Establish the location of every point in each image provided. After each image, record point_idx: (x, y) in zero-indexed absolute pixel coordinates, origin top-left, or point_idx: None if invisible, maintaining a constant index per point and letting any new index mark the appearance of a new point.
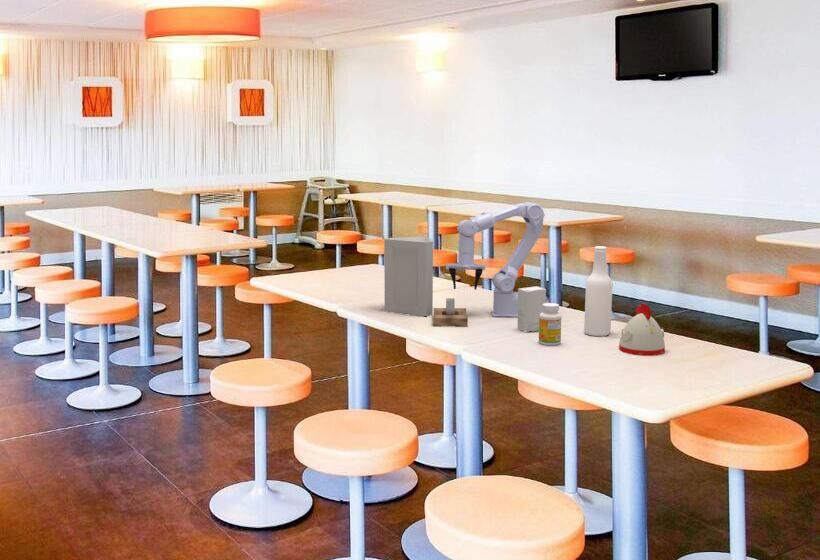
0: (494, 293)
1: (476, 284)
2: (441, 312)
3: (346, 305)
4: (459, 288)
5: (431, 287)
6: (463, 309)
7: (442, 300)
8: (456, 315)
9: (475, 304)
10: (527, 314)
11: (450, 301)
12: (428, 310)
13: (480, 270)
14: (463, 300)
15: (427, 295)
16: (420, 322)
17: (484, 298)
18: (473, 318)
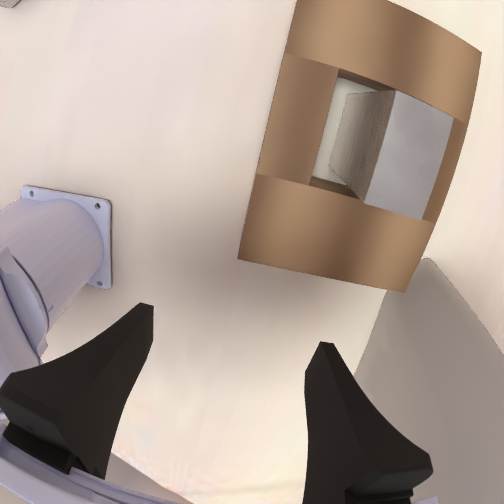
0: (44, 289)
1: (120, 325)
2: None
3: None
4: (194, 490)
5: (450, 380)
6: (260, 230)
7: (260, 449)
8: (355, 62)
9: (167, 404)
10: None
11: (424, 103)
12: (427, 279)
13: (26, 434)
14: (199, 440)
15: (470, 322)
16: (484, 155)
17: (140, 439)
18: (212, 180)
